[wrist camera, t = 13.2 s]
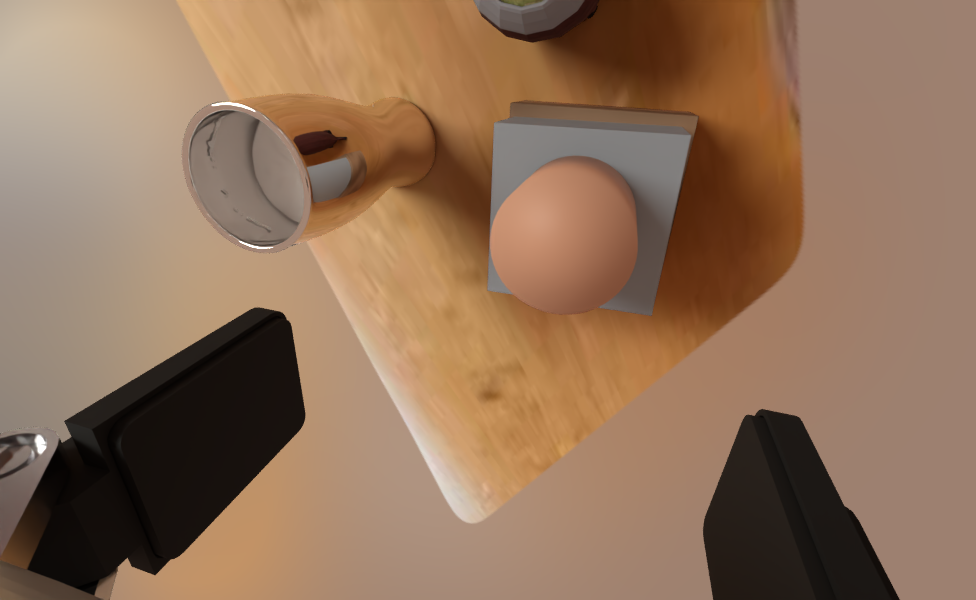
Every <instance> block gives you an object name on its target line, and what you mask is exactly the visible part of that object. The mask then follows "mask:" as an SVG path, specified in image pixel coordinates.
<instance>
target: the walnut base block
mask: <svg viewBox="0 0 976 600" xmlns="http://www.w3.org/2000/svg"><path fill="white" fill-rule="evenodd" d="M512 117H530V118H546V119H563V120H579V121H596V122H612V123H628V124H645V125H661V126H677V127H683V128H684V129H685V130H686V131H687V132H688V133H689V134H690V135H691V139H690V143H689V148H688V153H687V157H686V162H685V166H684V171H683V175H682V180H681V184H680V189H679V193H678V198H677V203H676V207H675V212H674V216H673V221H672V225H671V230H672V226H673V222H674V217H675V213H676V209H677V205H678V201H679V197H680V192H681V188H682V184H683V180H684V176H685V171H686V167H687V163H688V159H689V155H690V150H691V146H692V142H693V138H694V134H695V130H696V125H697V121H698V117H699V116H697V115H695V114H693V113H691V112H684V111H670V110H656V109H641V108H627V107H613V106H599V105H584V104H570V103H556V102H541V101H527V100H525V101H519V102H513V103H511V106H510V118H512ZM671 230H670V234H671ZM670 234H669V238H670ZM668 243H669V239H668ZM667 247H668V244H667ZM666 251H667V248H666ZM665 255H666V253H665ZM664 259H665V257H664ZM663 264H664V262H663ZM662 268H663V266H662ZM661 272H662V271H661ZM660 276H661V275H660Z"/></svg>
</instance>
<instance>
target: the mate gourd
mask: <svg viewBox="0 0 976 600" xmlns="http://www.w3.org/2000/svg"><path fill="white" fill-rule="evenodd" d="M474 2H475V4H476V6H477V8H478V10H479V12H480V14H481V15H482V17H483V18H485V19H486V20H487V21H488V22H489V23H491V24H492V25H493V26H494V27H495V28H497V29H498V30H499V31H500V32H501V33H503V34H504V35H505V36H506V37H511V38H515V39H519V40H523V41H528V42H537V41H542V40H547V39H552V38H557V37H561V36H562V35H564V34H565V33H567V32H568V31H570V30H571V29H572V28H574V27H575V26H577V25H578V24H580V23H581V22H582V21H584V20H585V19H586V18H588V19H589V18H591V17H592V16H593V15H594V13H595V12H596V10H597V7H598V6H597V4H598V2H599V0H474Z"/></svg>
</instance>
